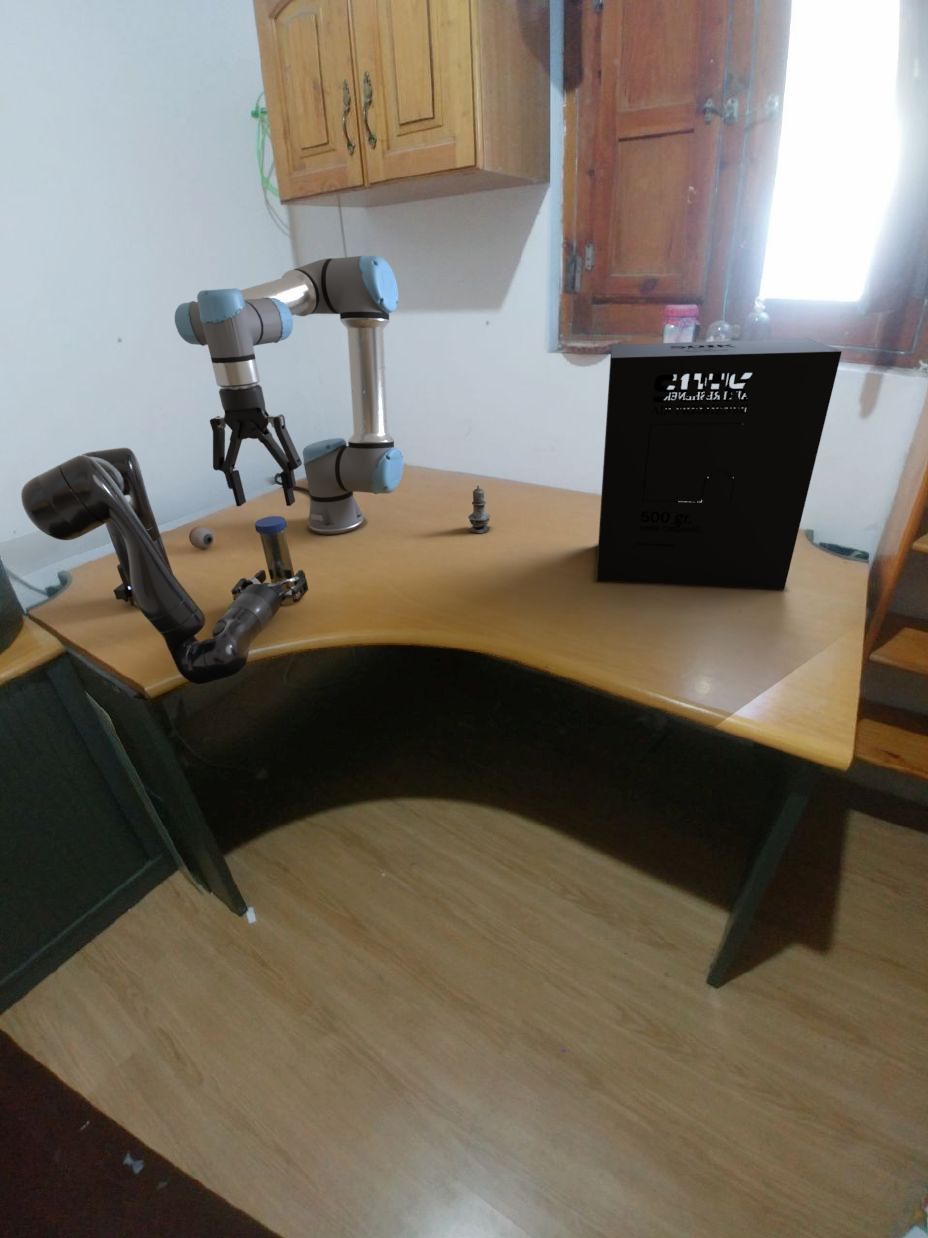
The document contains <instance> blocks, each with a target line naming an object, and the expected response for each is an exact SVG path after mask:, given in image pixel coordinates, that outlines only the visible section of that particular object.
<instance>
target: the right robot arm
mask: <svg viewBox="0 0 928 1238" xmlns="http://www.w3.org/2000/svg"><path fill="white" fill-rule="evenodd" d="M196 296H197V297H196V300H197V301H195V300H192V301H188V302H184V303H181V304H179V305H178V306H177V308H176V310H175V311H174V325H175V327H176V330H177V333H178V334H179V336H180V337H181V339H182V340H184V342H186V343H188V344H190V345H198V346H203V347H204V346H207V348H208V351H209V356H210V359H211V360H210V361H211V365H212V370H213V373H214V378H215V382H216V385H217V386H218V387H220V388H219V390H218V394H219V398H220V403H221V407H222V409H223V411H224V416H220V415H217V416H215V417H213V418H210V420H209V424H210V427H211V431H212V468H213V470H214V471H220V472H222V473H223V474H224V477H225V480H226V484H227V487H228V489H229V490H232V494H233V497H234V501H235V505H236V507H241V506H243V505H244V504H246V503H247V499H246V496H245V491H244V488H243V487H244V486H243V483H242V479H241V478H242V477H241V475H240V474H241V473H240V471H239V469H236V467H235V466H236V463H237V460H238V456H239V454H240V453H239V451H240V449H241V445H242V441H243V440H247V439H252V440H258V441H259V442H260V443H261V444H263V446H264V448H265V449H266V450H267V451H268V452H269V454H270V455H271V456H272V458H273V459H274V460H275V462H276V463H277V465H278V466H279V467H280V469H281V470H282V471H281V472H276V473H275V475H274V478H273V480H274V483H275V484H276V485H279V486H282V490H283V496H284V500H285V505H286V507H291V506H292V505H293V504H294V503H295V502H296V498H295V493H294V489H295V490H300V491H302V492H306V493H308V494H309V498H310V507H309V513H308V523H307V524H308V528H309V529H308V530H310V531H311V532H312V533H314V534H317V535H323V536H324V535H325V536H327V535H329V536H331V535H339V534H340V535H341V534H345V533H350V532H353V531H355V530H357V529H359V528H361V527H362V526H363V525H364V523H365V519H364V514H363V512H362V510H361V508H360V505H359V504H358V501H357V500H356V498H355V495H354V493H355V492H356V493H369V494H374V495H379V494H382V495H383V494H384V495H386V494H390V493H392V492H394V491H395V490H396V489H397V488H398V486H399V484H400V482H401V480H402V478H403V474H404V466H405V465H404V463H405V461H404V456H403V453H402V450H400V449H399V448H397V447H395V439H394V438H393V437H392V436H391V435H390V434H389V432H388V409H387V406H388V405H387V385H386V361H385V340H384V335H385V333H384V331H385V330H384V329H385V328H386V327H387V325H389V323H390V314H391V313H393V312H394V311H395V310H396V309H397V308H398V303H399V289H398V283H397V280H396V277H395V273H394V271H393V270H392V267H391V266H390V264H389V263H388V261H387V260H386V259H385V258H383V257H381V256H379V255H366V254H365V255H364V254H362V255H356V256H345V257H335V258H331V257H329V258H322V259H319V260H316V261H313V262H309V263H307V264H304V265H302V266H301V265H300V266H299V267H296V268H294V269H291V270H288V271H286V272H284V273H283V275H282V276H281V278H277V279H274V280H270V281H267V282H265V283H261V284H256V285H254V286H251V287H247V288H244V289H238V288H221V289H220V288H218V289H204V290H200V291H199V292H198V293H197V295H196ZM316 314H317V315H321V314H322V315H339V318H340V319H339V320H340V322H341V324H342V325H343V326H344V327H345V328H346V330H347V331H346V332H347V347H348V362H349V379H350V391H351V392H350V394H351V410H352V411H351V412H352V413H351V414H352V428H353V429H352V430H353V433H352V434H351V436H350V437H349V438H348V440H347V441H346V439H345V438H342V437H335V438H328V439H323V440H320V441H316V442H313V443H309V444H308V445H306V446H305V447H304V448H303V450H302V457H303V458H301V457H300V455H299V453H298V451H297V449H296V446H295V445H294V441H293V440H292V438H291V436H290V434H289V432H288V431H289V430H288V429H287V426H286V417H285V416H284V414H281V413H280V414H278V415H270V414H269V413H268V411H267V409H266V402H265V397H264V392H263V387H262V386H261V385H260V384H258V383H259V382H260V381H261V379H260V373H259V369H258V364H257V359H256V355H255V350H254V347H255V346H259V345H260V346H261V345H266V344H272V343H274V344H277V343H279V342H281V341H284V340H286V339H288V338H289V337H290V335H291V334H292V331H293V328H294V320H293V318H294V317H293V316H298V317H306V316H309V315H316ZM269 423H270V424H271V427H272V428H273V429H274V432H275V434H276V437H277V439H278V441H279V444H280V445H281V446H280V445H279V444H278V442H277V441H276V440H275V438H274V437H273V434H272V431H270V429H269V428H268V426H269ZM227 426H228V427H229V429H230V430H231V432H230V437H229V444H228V447H227V451H226V429H225V428H226V427H227ZM347 444H348V445H347ZM281 447H282V448H281ZM301 459H302V460H303V462H302V460H301ZM302 464H303V467H304V471H305V477H306V481H307V486H308V488H305V487H303V486H300V485H299V486H298V485H297V483H296V482H297V481H296V476H295V472H294V471H295V470H297V469H298V468H299V467H300V466H302ZM278 478H280V480H281V481H278Z"/></svg>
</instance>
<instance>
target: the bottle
mask: <svg viewBox="0 0 928 1238" xmlns="http://www.w3.org/2000/svg"><path fill="white" fill-rule="evenodd" d="M259 537H260V541H261V545H262V549H263V553H264V558H265V561H266V567H267V570H268V575H269V578H270V583H276V582H278V581H281V580H283V579H287V580H289V579H292V578H294V576H295V575H296V574H295V570H294V566H293V562H292V557H291V553H290V548H289V543H288V539H287V533H286V528H285V529H284V530H282V531H280V532H277V533H272V534H261V533H259ZM294 586H295V585H294V583H292V584H291V588H292V587H294ZM282 587H283V588H284V589H285V585H282ZM285 591H286V589H285ZM295 603H297V602H293V599H289V598H286V600H284V601H282V602H281V603H280V606H290V605H293V604H295Z"/></svg>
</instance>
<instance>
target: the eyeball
mask: <svg viewBox="0 0 928 1238" xmlns="http://www.w3.org/2000/svg"><path fill="white" fill-rule="evenodd" d="M188 539H189V542H190V544H191V545H192V546H193V547H194V548H196V549H198V550H206V549H208V548H210V547H212V545H213V544H214V541H215V535H214V533H213V531H212V529H210V528H209V527H207V526H205V525H198V526H195V527H194V528H192V529H191V530H190V532H189V535H188Z"/></svg>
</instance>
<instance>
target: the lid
mask: <svg viewBox="0 0 928 1238" xmlns="http://www.w3.org/2000/svg"><path fill="white" fill-rule="evenodd" d="M287 527H288V526H287V521H286V518H285V517H284V516H281V515H272V516H271V515H270V516H266V517H262V518H260V519H257V520H256V521H255V522H254V528H255V532H256V533H258V534H260V533H261V534H272V533H277V532H280V531H282V530H284V529H285V530H286V529H287Z"/></svg>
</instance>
